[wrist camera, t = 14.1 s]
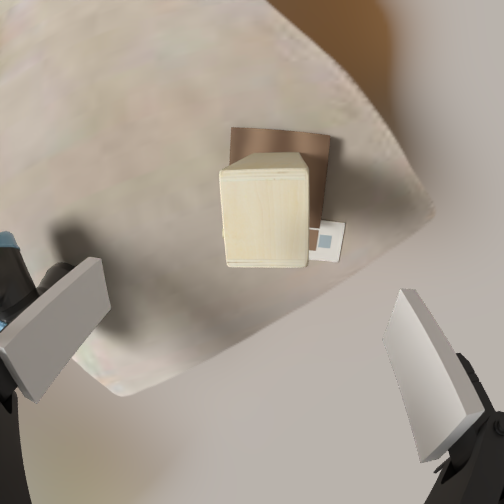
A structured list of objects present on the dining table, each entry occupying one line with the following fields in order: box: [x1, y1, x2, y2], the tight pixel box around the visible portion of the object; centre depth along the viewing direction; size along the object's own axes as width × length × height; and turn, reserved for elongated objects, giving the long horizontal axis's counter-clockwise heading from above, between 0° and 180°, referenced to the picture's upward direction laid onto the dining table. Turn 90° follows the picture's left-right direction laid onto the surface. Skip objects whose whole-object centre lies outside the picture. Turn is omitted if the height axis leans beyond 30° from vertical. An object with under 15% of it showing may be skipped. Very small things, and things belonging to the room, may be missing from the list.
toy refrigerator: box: [219, 152, 309, 268], centre depth 31 cm, size 8×7×21 cm
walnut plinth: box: [230, 127, 330, 229], centre depth 42 cm, size 14×14×3 cm
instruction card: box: [309, 220, 345, 262], centre depth 46 cm, size 9×7×1 cm
